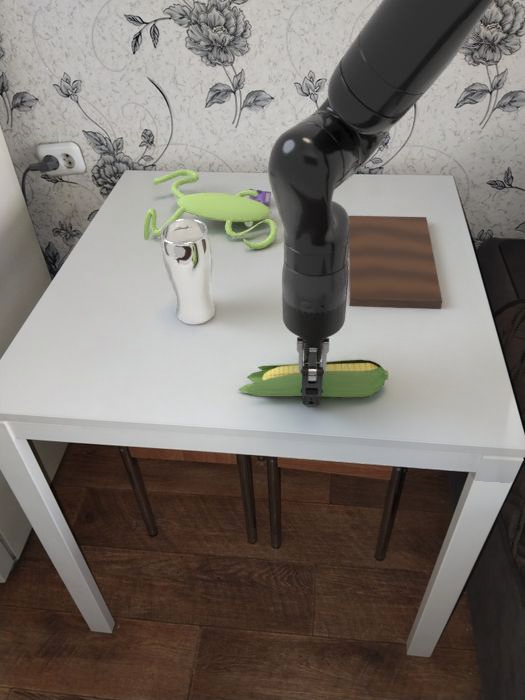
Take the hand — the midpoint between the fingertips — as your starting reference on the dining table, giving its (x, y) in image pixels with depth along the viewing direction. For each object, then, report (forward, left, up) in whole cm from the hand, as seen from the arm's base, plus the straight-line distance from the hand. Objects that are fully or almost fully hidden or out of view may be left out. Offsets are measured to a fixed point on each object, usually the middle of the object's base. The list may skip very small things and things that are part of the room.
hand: (311, 387), depth 80 cm
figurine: (+35, -31, -1) cm, 47 cm away
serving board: (0, -32, 0) cm, 32 cm away
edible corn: (0, 0, -1) cm, 1 cm away
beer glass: (+23, -7, -1) cm, 24 cm away
